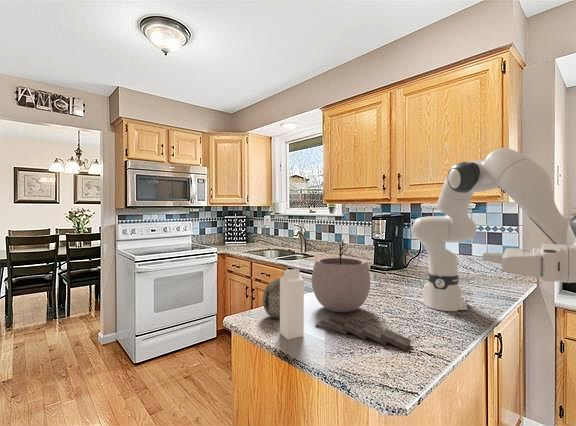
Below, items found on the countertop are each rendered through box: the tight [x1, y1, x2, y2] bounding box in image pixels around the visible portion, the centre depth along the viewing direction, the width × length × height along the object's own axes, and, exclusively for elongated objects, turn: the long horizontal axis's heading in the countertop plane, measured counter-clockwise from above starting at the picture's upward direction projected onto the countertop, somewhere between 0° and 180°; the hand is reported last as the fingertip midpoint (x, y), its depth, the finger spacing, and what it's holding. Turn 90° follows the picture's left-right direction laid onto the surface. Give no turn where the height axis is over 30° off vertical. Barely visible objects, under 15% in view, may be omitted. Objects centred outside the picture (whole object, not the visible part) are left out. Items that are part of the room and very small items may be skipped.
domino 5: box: [380, 328, 412, 351], centre depth 98 cm, size 5×2×8 cm
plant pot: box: [311, 237, 371, 313], centre depth 130 cm, size 24×24×30 cm
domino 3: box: [343, 319, 369, 341], centre depth 105 cm, size 5×2×8 cm
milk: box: [279, 268, 305, 341], centre depth 105 cm, size 6×6×22 cm
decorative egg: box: [262, 278, 280, 319], centre depth 121 cm, size 12×12×15 cm
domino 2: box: [324, 316, 350, 336], centre depth 109 cm, size 5×2×8 cm
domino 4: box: [361, 324, 389, 346], centre depth 101 cm, size 5×2×8 cm
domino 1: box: [314, 319, 337, 333], centre depth 112 cm, size 5×2×8 cm
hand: (482, 256), depth 84 cm, fingers closed
